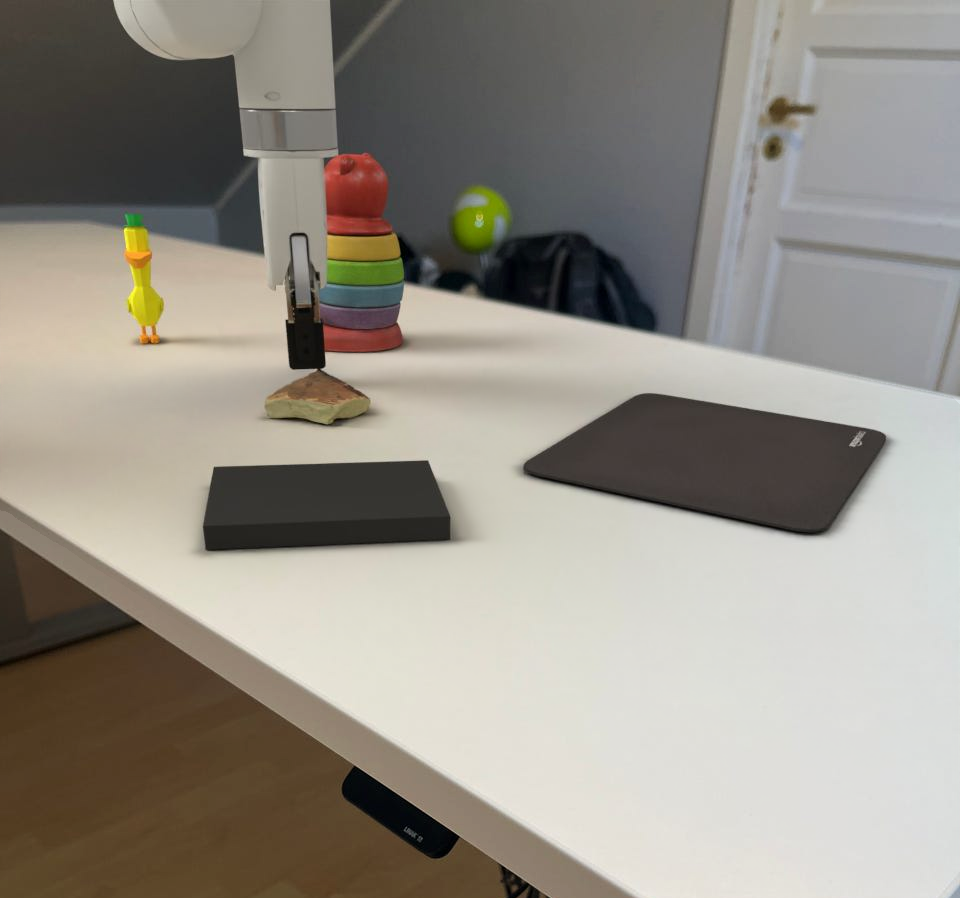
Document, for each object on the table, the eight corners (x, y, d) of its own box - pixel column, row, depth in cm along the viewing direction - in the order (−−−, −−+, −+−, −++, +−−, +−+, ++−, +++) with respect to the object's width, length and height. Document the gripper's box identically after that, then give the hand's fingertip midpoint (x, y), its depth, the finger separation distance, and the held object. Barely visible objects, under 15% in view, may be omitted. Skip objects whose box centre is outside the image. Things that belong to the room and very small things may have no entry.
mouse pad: (822, 537, 59) (822, 533, 59) (513, 471, 68) (513, 468, 67) (889, 434, 78) (890, 431, 78) (642, 393, 87) (642, 390, 87)
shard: (319, 385, 87) (318, 364, 86) (399, 394, 85) (399, 373, 84) (260, 417, 78) (259, 395, 77) (349, 428, 76) (348, 405, 75)
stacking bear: (343, 327, 108) (336, 148, 99) (423, 338, 104) (423, 153, 96) (286, 346, 99) (273, 151, 91) (372, 358, 96) (367, 157, 87)
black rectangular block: (205, 550, 55) (202, 525, 54) (215, 488, 64) (213, 466, 63) (450, 539, 57) (450, 516, 57) (428, 481, 66) (428, 459, 65)
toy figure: (167, 348, 97) (150, 218, 91) (129, 349, 96) (110, 218, 90) (168, 334, 103) (152, 210, 97) (132, 335, 102) (115, 210, 96)
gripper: (243, 131, 83) (264, 348, 92) (239, 140, 71) (264, 391, 80) (331, 131, 85) (344, 346, 94) (343, 140, 72) (356, 388, 81)
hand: (307, 366), depth 87 cm, fingers closed
